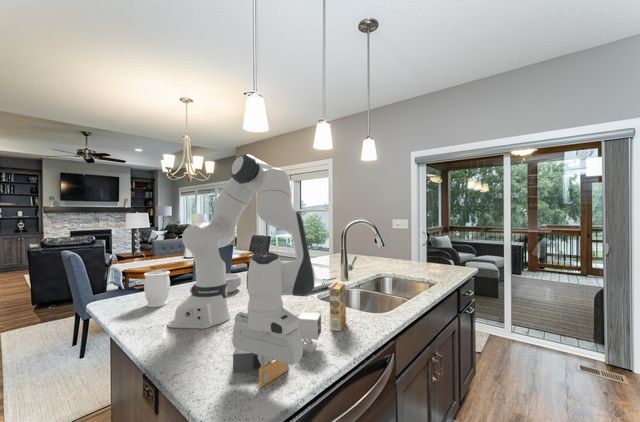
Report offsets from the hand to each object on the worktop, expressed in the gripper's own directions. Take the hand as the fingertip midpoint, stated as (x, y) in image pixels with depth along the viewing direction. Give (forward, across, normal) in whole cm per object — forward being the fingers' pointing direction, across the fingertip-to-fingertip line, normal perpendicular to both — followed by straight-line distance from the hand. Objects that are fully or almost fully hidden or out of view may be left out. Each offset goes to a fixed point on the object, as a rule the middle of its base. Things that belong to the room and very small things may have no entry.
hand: (265, 371), depth 74 cm
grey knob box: (+2, -7, +6) cm, 9 cm away
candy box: (+2, +2, +40) cm, 40 cm away
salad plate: (+3, -36, +81) cm, 89 cm away
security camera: (+2, +1, +20) cm, 20 cm away
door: (+2, +2, +2) cm, 3 cm away
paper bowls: (+3, -72, +56) cm, 91 cm away
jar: (+3, -83, +24) cm, 86 cm away
